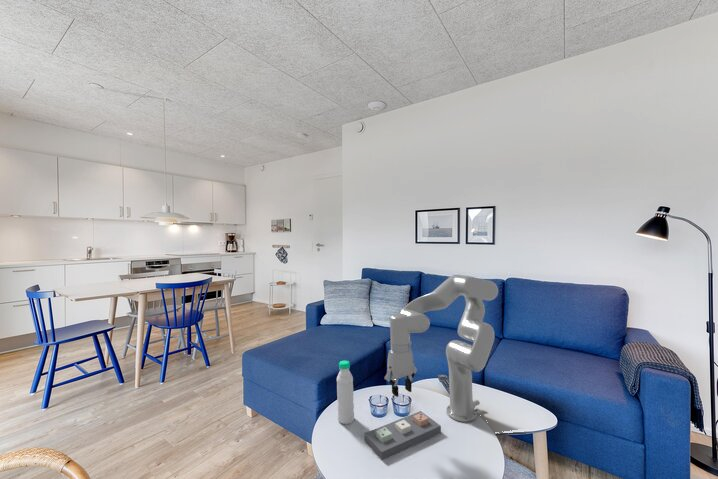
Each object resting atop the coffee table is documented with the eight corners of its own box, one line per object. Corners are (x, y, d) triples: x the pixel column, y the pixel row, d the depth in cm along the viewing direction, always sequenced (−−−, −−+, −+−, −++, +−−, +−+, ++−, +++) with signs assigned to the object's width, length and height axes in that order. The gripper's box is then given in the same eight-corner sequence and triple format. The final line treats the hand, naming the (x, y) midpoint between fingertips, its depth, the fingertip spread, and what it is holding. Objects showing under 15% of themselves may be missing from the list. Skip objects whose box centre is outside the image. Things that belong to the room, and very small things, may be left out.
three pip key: (421, 421, 125) (421, 412, 125) (428, 426, 121) (428, 417, 121) (413, 424, 122) (413, 415, 122) (420, 430, 119) (420, 421, 119)
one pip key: (404, 428, 120) (404, 419, 120) (411, 434, 116) (411, 425, 116) (395, 432, 118) (395, 423, 118) (402, 438, 114) (401, 429, 114)
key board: (420, 417, 129) (420, 411, 129) (441, 433, 119) (440, 425, 119) (364, 441, 116) (364, 433, 116) (381, 460, 105) (381, 452, 105)
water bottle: (339, 426, 125) (337, 366, 125) (336, 416, 132) (334, 359, 132) (355, 423, 127) (354, 364, 127) (352, 413, 134) (350, 358, 134)
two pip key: (385, 436, 116) (385, 426, 116) (392, 442, 112) (391, 433, 112) (376, 440, 114) (375, 430, 114) (382, 447, 110) (382, 437, 110)
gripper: (411, 339, 125) (413, 383, 125) (376, 348, 116) (378, 394, 116) (423, 345, 118) (425, 391, 118) (387, 354, 110) (389, 403, 110)
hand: (401, 392), depth 117 cm, fingers open, 5 cm apart
